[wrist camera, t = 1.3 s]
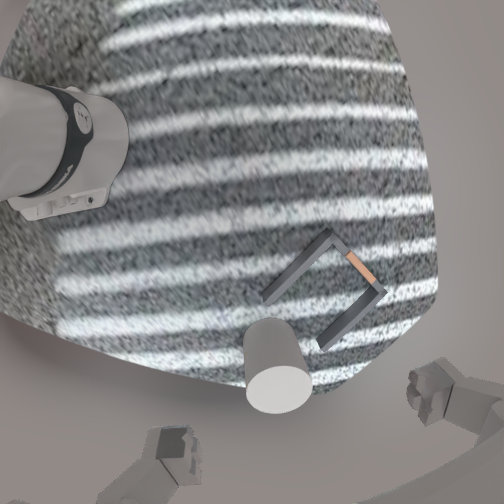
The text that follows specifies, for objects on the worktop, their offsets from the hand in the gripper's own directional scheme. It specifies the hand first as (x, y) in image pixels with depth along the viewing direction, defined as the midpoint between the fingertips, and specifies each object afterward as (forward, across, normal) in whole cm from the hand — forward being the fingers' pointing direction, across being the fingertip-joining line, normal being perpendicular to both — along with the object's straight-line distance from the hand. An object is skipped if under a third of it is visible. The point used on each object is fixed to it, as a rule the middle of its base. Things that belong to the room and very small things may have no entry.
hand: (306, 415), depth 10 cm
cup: (+33, 0, -17) cm, 38 cm away
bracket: (+33, +9, -11) cm, 36 cm away
